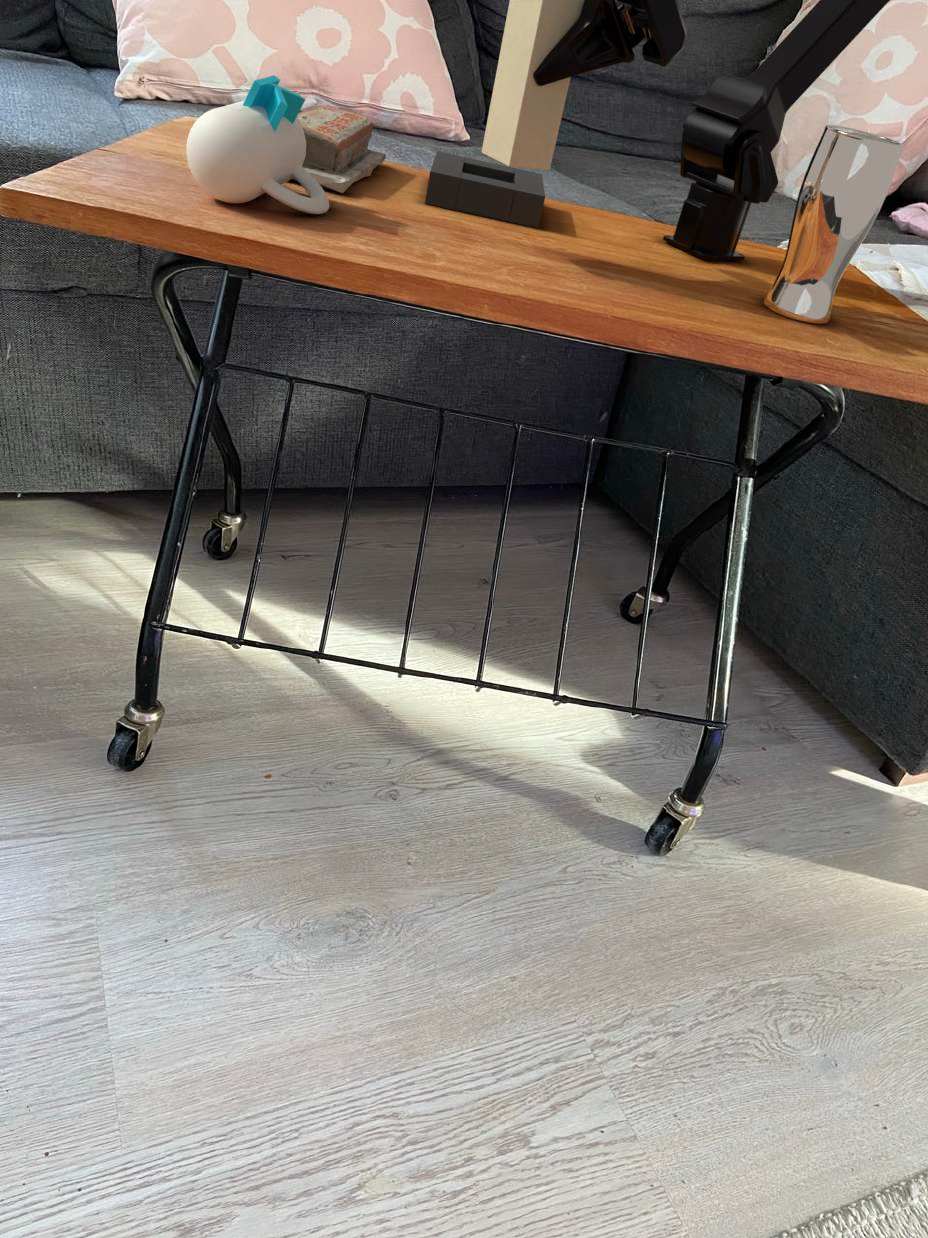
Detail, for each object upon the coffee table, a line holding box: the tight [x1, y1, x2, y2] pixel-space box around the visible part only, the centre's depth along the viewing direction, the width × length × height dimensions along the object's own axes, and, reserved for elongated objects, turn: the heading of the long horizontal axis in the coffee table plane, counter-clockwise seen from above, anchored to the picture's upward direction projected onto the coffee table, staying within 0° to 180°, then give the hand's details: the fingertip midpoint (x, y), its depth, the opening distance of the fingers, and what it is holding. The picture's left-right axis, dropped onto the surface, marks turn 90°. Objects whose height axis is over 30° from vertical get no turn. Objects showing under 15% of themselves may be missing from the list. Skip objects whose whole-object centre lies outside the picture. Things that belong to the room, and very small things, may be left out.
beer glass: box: [763, 124, 905, 325], centre depth 86 cm, size 7×7×15 cm
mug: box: [185, 75, 330, 215], centre depth 83 cm, size 12×9×12 cm
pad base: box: [424, 150, 546, 229], centre depth 101 cm, size 11×11×3 cm
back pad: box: [481, 0, 584, 171], centre depth 82 cm, size 4×4×13 cm
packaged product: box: [290, 104, 387, 194], centre depth 99 cm, size 18×5×10 cm
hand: (519, 74), depth 81 cm, fingers closed on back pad, 4 cm apart
